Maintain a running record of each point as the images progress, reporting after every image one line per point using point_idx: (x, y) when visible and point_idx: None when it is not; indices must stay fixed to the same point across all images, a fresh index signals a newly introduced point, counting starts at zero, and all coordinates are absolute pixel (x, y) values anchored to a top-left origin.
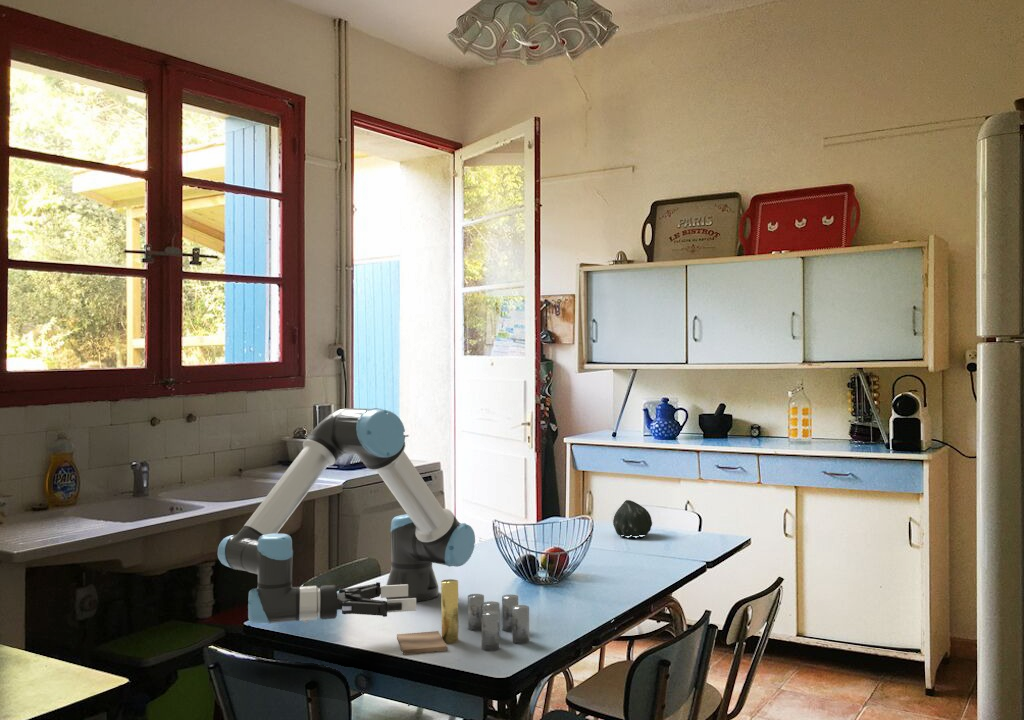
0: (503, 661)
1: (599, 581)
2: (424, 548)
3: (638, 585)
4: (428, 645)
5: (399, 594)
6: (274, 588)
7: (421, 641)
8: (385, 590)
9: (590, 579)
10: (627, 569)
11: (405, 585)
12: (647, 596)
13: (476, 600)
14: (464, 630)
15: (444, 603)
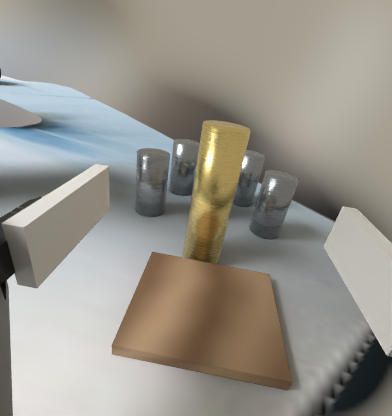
0: None
1: (74, 117)
2: None
3: (111, 117)
4: (257, 302)
5: (92, 218)
6: None
7: (218, 305)
8: (50, 235)
9: (61, 116)
10: (62, 106)
11: (103, 171)
12: (145, 125)
13: (168, 161)
14: (149, 221)
15: (230, 187)
